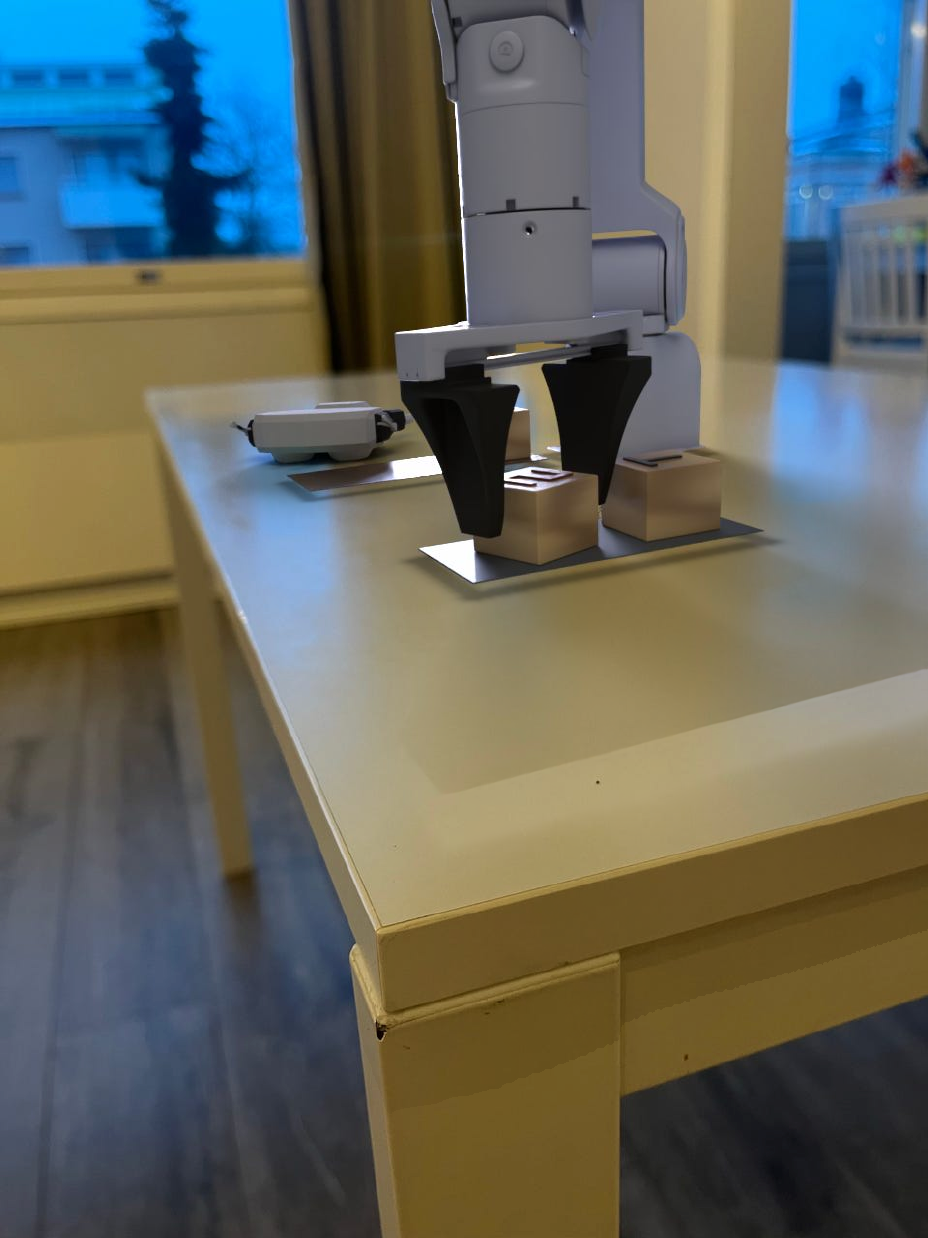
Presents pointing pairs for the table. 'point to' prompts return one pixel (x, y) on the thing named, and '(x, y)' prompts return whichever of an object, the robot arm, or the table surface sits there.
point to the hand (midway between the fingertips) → (536, 517)
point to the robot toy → (324, 431)
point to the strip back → (378, 473)
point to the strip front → (610, 546)
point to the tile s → (545, 516)
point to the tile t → (664, 495)
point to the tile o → (519, 435)
